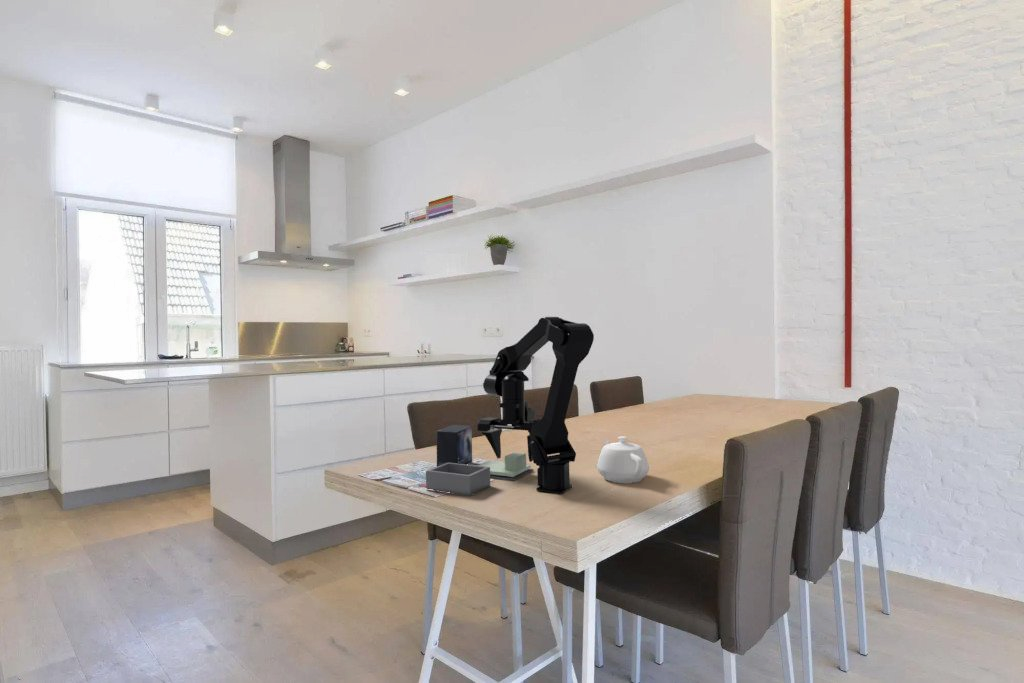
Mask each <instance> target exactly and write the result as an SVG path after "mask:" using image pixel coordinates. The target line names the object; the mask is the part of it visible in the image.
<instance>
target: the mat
mask: <svg viewBox="0 0 1024 683" xmlns="http://www.w3.org/2000/svg"><path fill="white" fill-rule="evenodd" d="M531 471H532V472H533V471H534V469H533V468H530V469H528V470H526V471H524V472H522V473H520V474H518V475H516V476H514V477H509V476H501V475H492V474H490V479H492V478H494V480H503V481H510V482H515V481H516V480H518V479H521V478H522V477H524V476H526V475H528V474H530V473H531Z"/></svg>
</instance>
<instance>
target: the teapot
mask: <svg viewBox="0 0 1024 683" xmlns="http://www.w3.org/2000/svg"><path fill="white" fill-rule="evenodd" d="M617 440H618V441H619V442H613V443H612V442H611V443H610V440H609V439H608V438H607V439H604V443H605V444H604V446H603V448H602V449H601V451H600V453H599V454H600V455H599V457H598V460H597V465H596V468H597V471H598V473H599V474H600V475H601V476H602V477H603V479H604V478H605V479H604V480H605V481H607V480H608V482H610V481H612V482H611V483H616V482H617V484H633V483H632V482H634V483H637V481H638V482H641V481H642V480H643V478H645V477H646V476H647V474H648V473H649V471H650V465H649V462H648V459H647V458H648V457H647V456H646V453H645V451H644V450H643V448H642V446H641V445H639V444H635V443H632V442H626V440H627V436H624V435H623V436H621V435H620V436H618V437H617Z"/></svg>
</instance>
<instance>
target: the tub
mask: <svg viewBox="0 0 1024 683" xmlns="http://www.w3.org/2000/svg"><path fill="white" fill-rule="evenodd" d="M425 484H426V485H425V488H427V489H433V490H439V491H445V492H450V493H454V494H453V495H457V494H458V496H466V497H472V496H473V494H474V495H476V494H477V492H478V493H480V492H482V491H483V490H485V489H487V488H489V487H491V478H490V467H485V466H477V465H476V464H475V465H474V464H468V465H467V464H457V463H445V464H443V465H440V466H437V465H436V467H433V468H430V469H426V470H425ZM481 490H482V491H481ZM479 491H480V492H479ZM450 493H449V494H450ZM475 493H476V494H475ZM471 495H472V496H471Z"/></svg>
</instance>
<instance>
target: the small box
mask: <svg viewBox="0 0 1024 683" xmlns="http://www.w3.org/2000/svg"><path fill="white" fill-rule="evenodd" d="M472 428H473V426H472V425H465V424H464V425H462V424H461V425H460V424H452V425H448V426H446V427H443V428H440V429H438V430H436V467H437V466H440V465H443V464H445V463H457V464H468V465H470V464H472V463H473V429H472ZM471 462H472V463H471ZM469 463H470V464H469Z"/></svg>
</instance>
